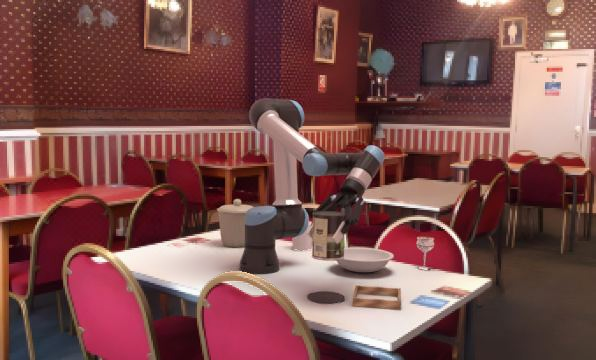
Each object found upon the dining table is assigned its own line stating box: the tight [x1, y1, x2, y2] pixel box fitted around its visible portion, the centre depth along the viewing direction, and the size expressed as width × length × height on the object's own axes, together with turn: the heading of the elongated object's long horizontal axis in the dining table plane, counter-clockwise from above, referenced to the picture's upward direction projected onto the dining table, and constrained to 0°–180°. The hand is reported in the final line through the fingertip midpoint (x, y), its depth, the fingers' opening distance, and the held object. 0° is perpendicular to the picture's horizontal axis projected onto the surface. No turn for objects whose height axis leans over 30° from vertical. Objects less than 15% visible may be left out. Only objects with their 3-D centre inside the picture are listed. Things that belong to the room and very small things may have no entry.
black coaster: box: [306, 290, 346, 305], centre depth 183 cm, size 12×12×1 cm
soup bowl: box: [336, 246, 394, 273], centre depth 219 cm, size 24×24×7 cm
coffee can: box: [311, 210, 345, 262], centre depth 181 cm, size 10×10×14 cm
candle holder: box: [291, 220, 313, 250], centre depth 255 cm, size 10×10×12 cm
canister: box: [216, 198, 255, 248], centre depth 260 cm, size 18×18×21 cm
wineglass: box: [416, 236, 435, 268], centre depth 225 cm, size 7×7×12 cm
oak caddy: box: [351, 285, 402, 311], centre depth 181 cm, size 15×15×2 cm
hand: (321, 238), depth 179 cm, fingers closed on coffee can, 10 cm apart
